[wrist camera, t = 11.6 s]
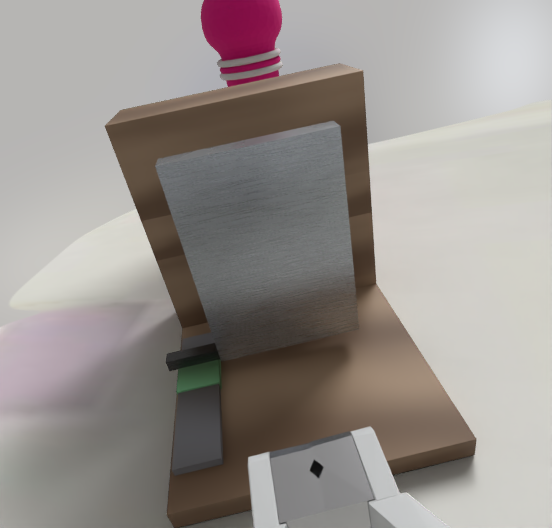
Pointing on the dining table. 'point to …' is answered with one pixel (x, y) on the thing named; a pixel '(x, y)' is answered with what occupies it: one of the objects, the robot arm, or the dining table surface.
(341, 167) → the plunger
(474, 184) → the dining table surface
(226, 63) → the pepper mill
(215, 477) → the gauge housing
